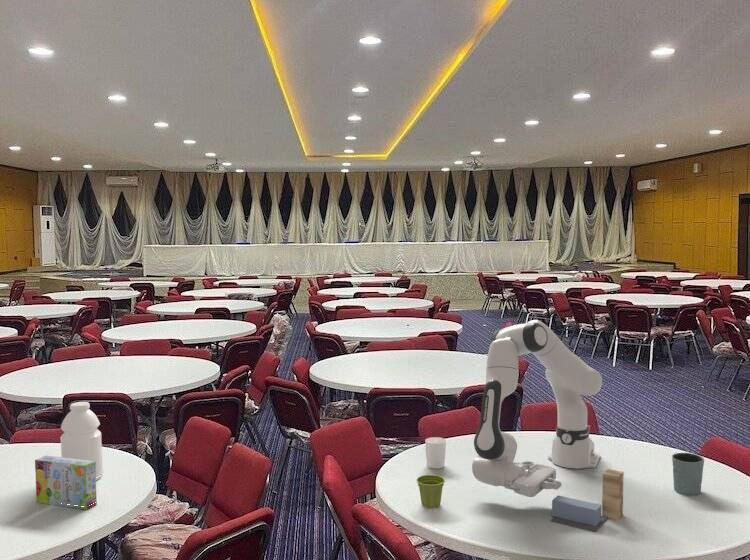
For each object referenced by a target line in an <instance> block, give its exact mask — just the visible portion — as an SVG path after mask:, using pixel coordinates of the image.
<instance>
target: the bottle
mask: <svg viewBox="0 0 750 560" xmlns="http://www.w3.org/2000/svg"><path fill="white" fill-rule="evenodd" d="M90 408H91V405H90V402H87V401H79V402H77V401H76V402H73V403H71V404H70V405H69V410H70V411H69V412H68V413H67V414H66V416H65V417H64V419H63V420H62V422H61V426H60V429H61V430H62V431H63V433H62V434H61V436H60V439H59V440H60V451H61V454H60V455H61V456H60V457H64V458H72V459H81V460H89V461H95V462H96V477H98V476H100V475H101V476H100V477H98V478H96V481H99V480H100V479H101V478H102V477H103V474H104V470H103V451H102V449H103V447H102V445H103V444H102V443H103V442H102V432H101V431H100V430H99V429H98V428H99V427H100V425H101V423H100V419H99V418H98V417H97V415H96V414H95V413H94V412H93V410H91V409H90ZM102 473H103V474H102Z"/></svg>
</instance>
